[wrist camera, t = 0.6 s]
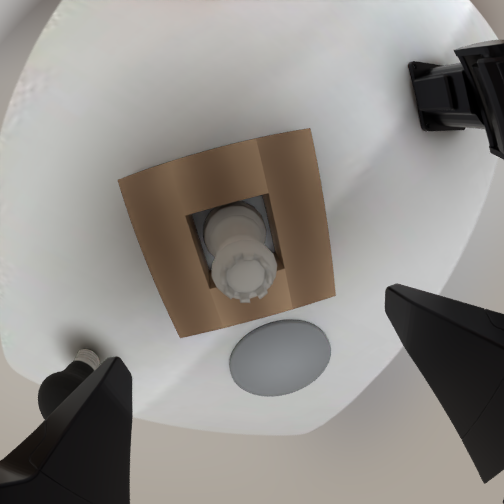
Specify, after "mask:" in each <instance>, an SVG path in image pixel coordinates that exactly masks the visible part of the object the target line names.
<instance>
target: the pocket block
mask: <svg viewBox="0 0 504 504" xmlns="http://www.w3.org/2000/svg"><path fill="white" fill-rule="evenodd" d="M118 183H119V186H120V189H121V193H122V196H123V199H124V202H125V205H126V208H127V211H128V214H129V217H130V220H131V223H132V225H133V228H134V231H135V234H136V236H137V239H138V242H139V245H140V247H141V250H142V252H143V255H144V257H145V260H146V263H147V265H148V268H149V270H150V272H151V275H152V277H153V280H154V282H155V284H156V287H157V289H158V291H159V294H160V296H161V298H162V300H163V303H164V305H165V307H166V309H167V311H168V314H169V316H170V318H171V320H172V322H173V324H174V326H175V328H176V331H177V333H178V335H179V337H180V338H183V337H188V336H192V335H196V334H201V333H205V332H209V331H213V330H218V329H222V328H226V327H230V326H234V325H237V324H241V323H245V322H249V321H253V320H256V319H260V318H264V317H267V316H271V315H274V314H278V313H281V312H285V311H288V310H291V309H295V308H298V307H301V306H305V305H308V304H311V303H314V302H318V301H321V300H324V299H327V298H330V297H333V296H336V294H335V283H334V273H333V264H332V255H331V247H330V239H329V232H328V225H327V218H326V211H325V204H324V198H323V192H322V186H321V180H320V175H319V169H318V164H317V159H316V154H315V149H314V144H313V139H312V134H311V130H310V128H308V129H302V130H296V131H290V132H285V133H280V134H274V135H269V136H265V137H260V138H255V139H251V140H247V141H242V142H238V143H234V144H230V145H226V146H222V147H218V148H214V149H211V150H207V151H203V152H200V153H196V154H193V155H189V156H186V157H183V158H180V159H176V160H173V161H170V162H167V163H164V164H161V165H158V166H155V167H152V168H149V169H146V170H143V171H140V172H137V173H135V174H132V175H129V176H127V177H124V178H122V179H119V180H118ZM259 195H263V199H264V204H265V208H266V212H267V217H268V221H269V226H270V230H271V235H272V239H273V244H274V248H275V252H274V253H273V254H274V257H275V260H276V263H277V271H276V277H275V279H274V281H273V285H272V284H271V286H270V288H268V289H267V292H268V293H267V294H266V295H265V296H264V297H262V298H261V299H259V297H258V296H256V297H253V298H250V303H240V299H235V298H232V299H230V298H229V297H227V296H226V295H225V294H224V293H222V292H221V291H220V290H219V289H218V288H217V287H216V285H215V283H214V281H213V278H212V270H209V267H208V264H207V261H206V258H205V255H204V252H203V249H202V246H201V242H200V239H199V236H198V233H197V230H196V226H195V223H194V220H193V217H192V214H193V213H196V212H200V211H203V210H207V209H210V208H214V207H218V206H221V205H225V204H229V203H232V202H236V201H240V200H244V199H247V198H251V197H255V196H259Z"/></svg>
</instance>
